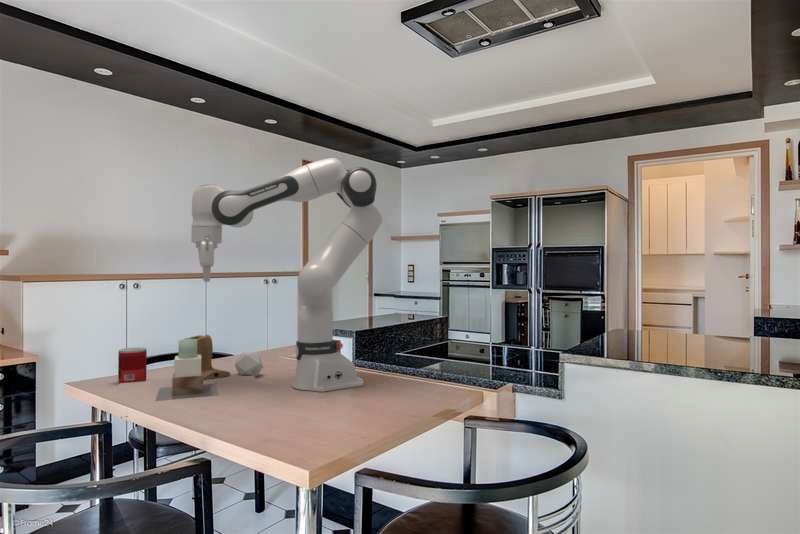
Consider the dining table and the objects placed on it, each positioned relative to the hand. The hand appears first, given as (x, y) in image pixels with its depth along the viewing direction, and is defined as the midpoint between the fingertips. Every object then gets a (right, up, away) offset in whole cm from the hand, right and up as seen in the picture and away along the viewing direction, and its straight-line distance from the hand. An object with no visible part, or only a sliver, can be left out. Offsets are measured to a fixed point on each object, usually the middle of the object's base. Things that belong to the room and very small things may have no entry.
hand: (206, 281), depth 150 cm
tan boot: (-6, -34, +11) cm, 36 cm away
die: (+8, -34, +16) cm, 38 cm away
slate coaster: (-1, -33, -10) cm, 34 cm away
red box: (-27, -34, +7) cm, 43 cm away
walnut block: (-1, -32, -10) cm, 33 cm away
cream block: (-1, -27, -10) cm, 28 cm away
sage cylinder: (-2, -22, -10) cm, 24 cm away
